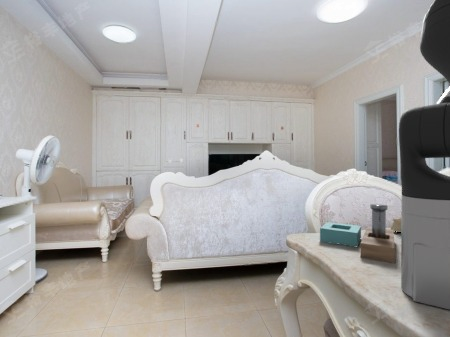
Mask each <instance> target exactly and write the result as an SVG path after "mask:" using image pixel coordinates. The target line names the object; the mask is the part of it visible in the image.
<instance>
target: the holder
mask: <svg viewBox="0 0 450 337" xmlns="http://www.w3.org/2000/svg"><path fill="white" fill-rule="evenodd" d="M360 238H361V239H362V226H361V225H357V224H356V225H355V224H348V223H337V222H331V221H327V222H325V223H324V224H323V225H322V226H321V227H320V228H319V241H320V242H321V241H325V242H324V243H327V242H331V243H330V244H334V243H339V244H338V245H340V244H346V245H351V246H350V247H352V246H358V247H359V245H360V242H361V240H360ZM359 241H360V242H359ZM358 244H359V245H358ZM346 245H345V246H346Z"/></svg>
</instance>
